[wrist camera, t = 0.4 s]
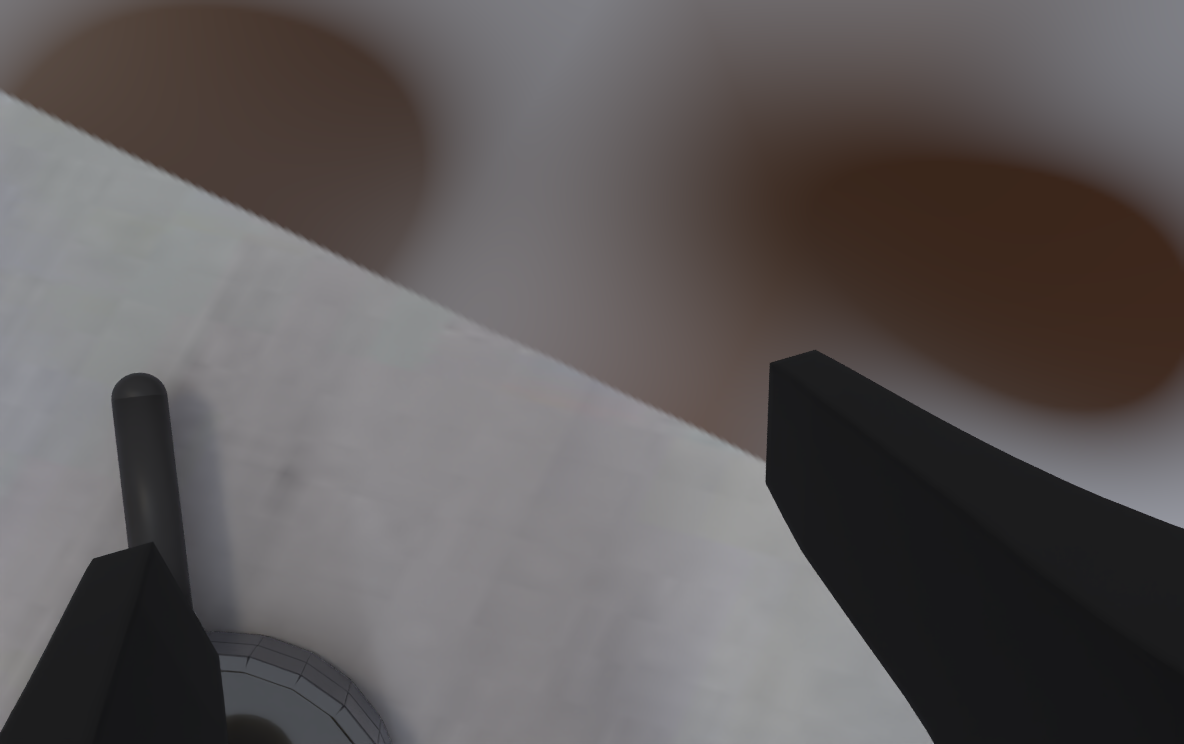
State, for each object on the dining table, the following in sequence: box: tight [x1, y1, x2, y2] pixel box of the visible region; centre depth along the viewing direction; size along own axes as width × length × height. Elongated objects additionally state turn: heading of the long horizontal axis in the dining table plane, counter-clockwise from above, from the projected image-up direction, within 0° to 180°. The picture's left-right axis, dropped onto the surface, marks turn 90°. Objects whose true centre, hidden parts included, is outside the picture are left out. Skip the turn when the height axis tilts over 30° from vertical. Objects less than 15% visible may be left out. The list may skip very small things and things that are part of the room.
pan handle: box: [112, 373, 193, 610], centre depth 33 cm, size 10×2×2 cm, turn 8°
